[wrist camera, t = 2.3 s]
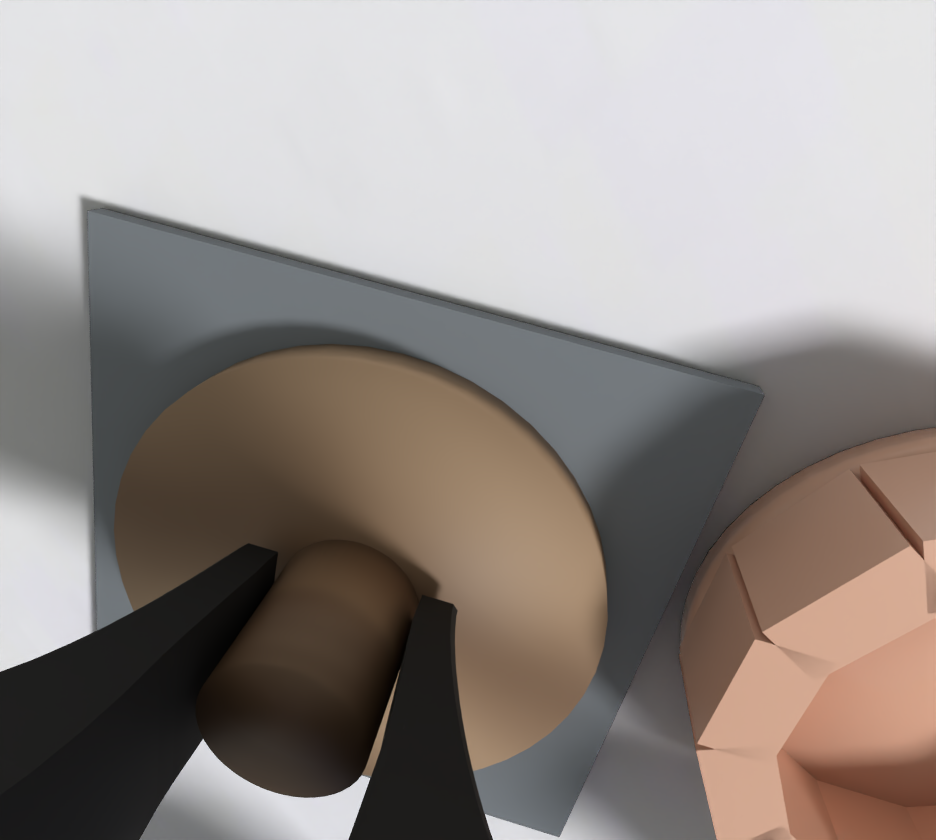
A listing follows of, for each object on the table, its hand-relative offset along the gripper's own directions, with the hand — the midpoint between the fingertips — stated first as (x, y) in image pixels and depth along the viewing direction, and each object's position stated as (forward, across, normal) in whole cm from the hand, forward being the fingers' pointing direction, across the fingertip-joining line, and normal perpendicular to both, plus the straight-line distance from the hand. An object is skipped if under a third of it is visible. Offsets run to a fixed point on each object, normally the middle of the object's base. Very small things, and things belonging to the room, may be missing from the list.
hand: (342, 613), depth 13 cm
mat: (+2, 0, 0) cm, 2 cm away
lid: (+1, 0, 0) cm, 1 cm away
